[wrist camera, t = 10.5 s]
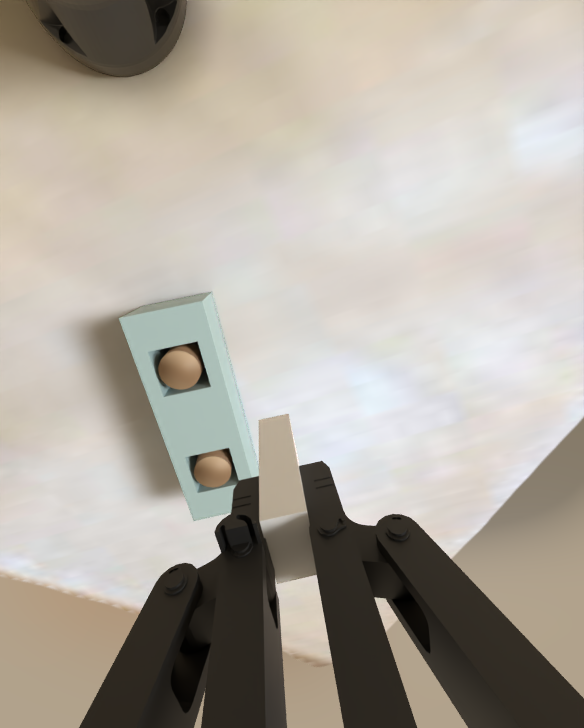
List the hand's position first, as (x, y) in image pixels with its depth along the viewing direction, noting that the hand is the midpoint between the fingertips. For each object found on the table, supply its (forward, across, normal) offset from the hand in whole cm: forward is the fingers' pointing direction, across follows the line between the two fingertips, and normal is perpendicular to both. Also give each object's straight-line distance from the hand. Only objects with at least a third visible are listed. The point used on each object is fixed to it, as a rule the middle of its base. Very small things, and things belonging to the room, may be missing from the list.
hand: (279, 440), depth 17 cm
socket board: (+30, -10, -9) cm, 33 cm away
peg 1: (+30, -10, -2) cm, 32 cm away
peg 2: (+30, -10, -16) cm, 36 cm away
